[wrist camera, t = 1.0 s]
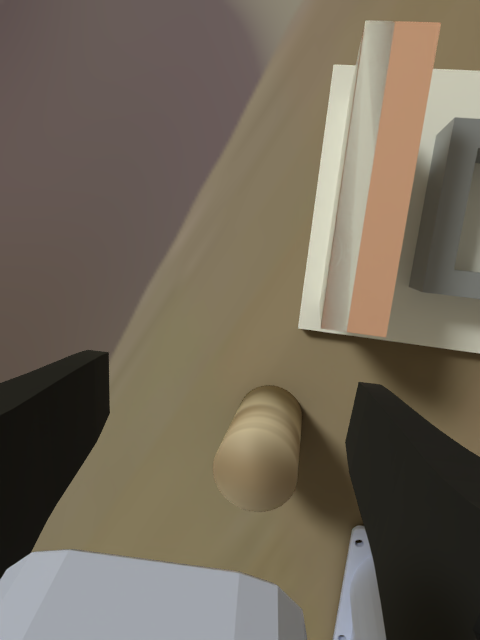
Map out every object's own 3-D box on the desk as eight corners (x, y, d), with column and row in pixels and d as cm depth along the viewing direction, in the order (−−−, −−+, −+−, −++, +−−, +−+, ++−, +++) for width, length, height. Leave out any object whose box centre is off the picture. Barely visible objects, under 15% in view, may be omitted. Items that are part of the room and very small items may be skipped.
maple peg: (297, 451, 27) (291, 519, 20) (235, 439, 27) (209, 502, 21) (306, 391, 26) (302, 440, 19) (242, 380, 27) (217, 425, 20)
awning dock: (553, 360, 23) (684, 420, 15) (298, 325, 25) (290, 361, 17) (622, 85, 21) (825, -24, 12) (333, 72, 23) (342, -28, 15)
